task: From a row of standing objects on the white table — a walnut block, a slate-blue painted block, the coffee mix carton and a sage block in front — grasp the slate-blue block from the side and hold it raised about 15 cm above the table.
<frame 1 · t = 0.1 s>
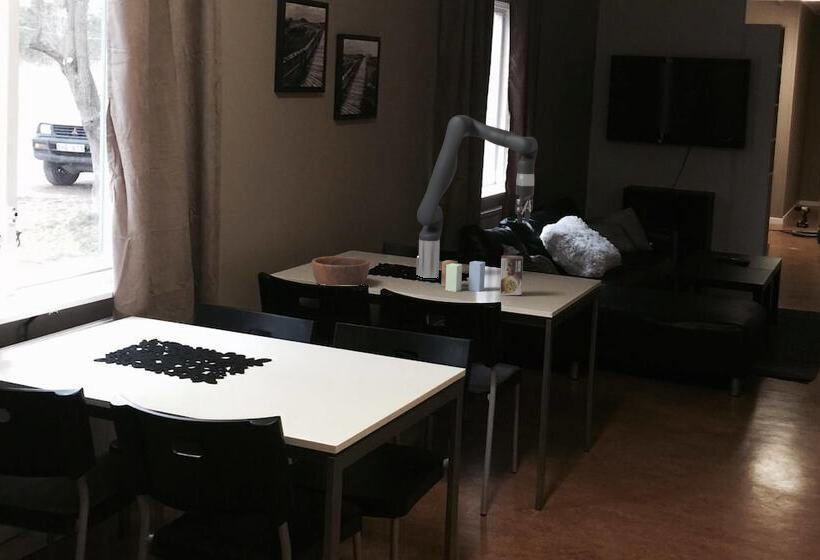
hand: (523, 222, 467), 29 cm above the table, tool pointing down, fingers open, 8 cm apart
coffee box: (510, 294, 461), on the table
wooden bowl: (340, 284, 474), on the table
sage block: (453, 290, 467), on the table
walnut block: (449, 286, 474), on the table
slate block: (476, 290, 468), on the table
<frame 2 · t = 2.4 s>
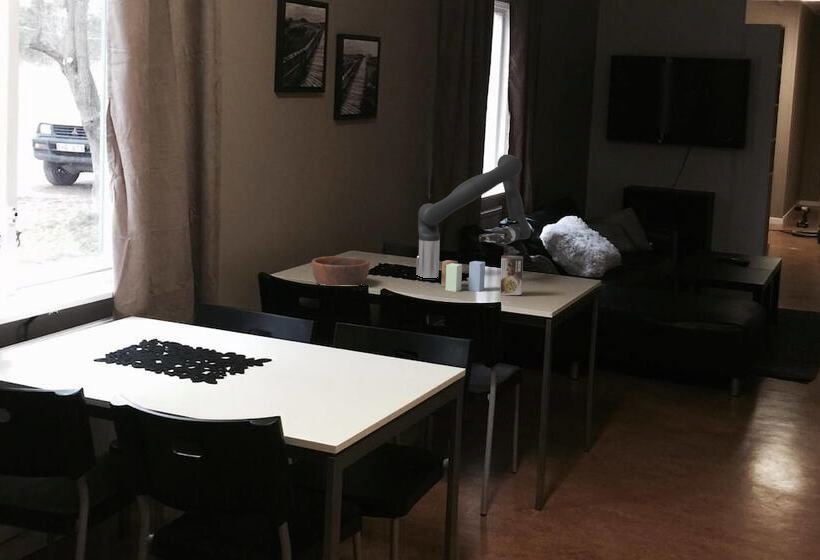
hand: (488, 240, 474), 20 cm above the table, tool horizontal, fingers open, 8 cm apart
nothing on the table moved.
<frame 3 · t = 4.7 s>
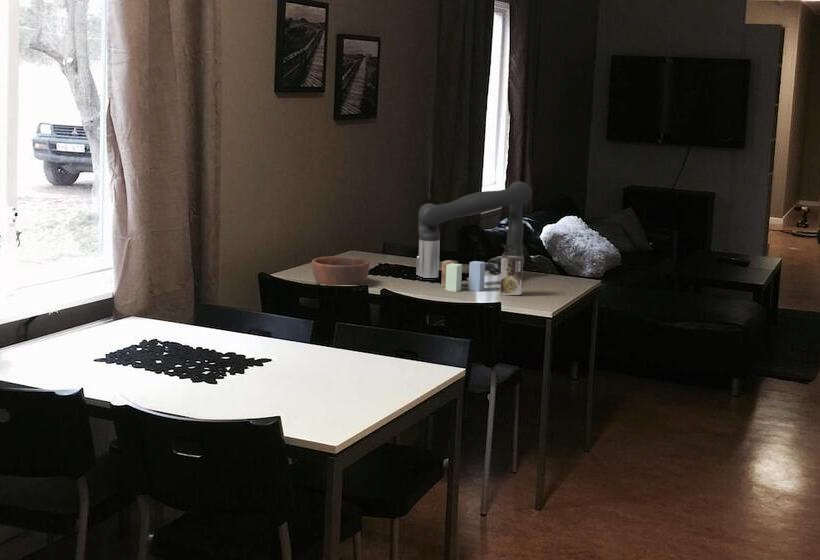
hand: (482, 270, 472), 8 cm above the table, tool horizontal, fingers open, 8 cm apart
nothing on the table moved.
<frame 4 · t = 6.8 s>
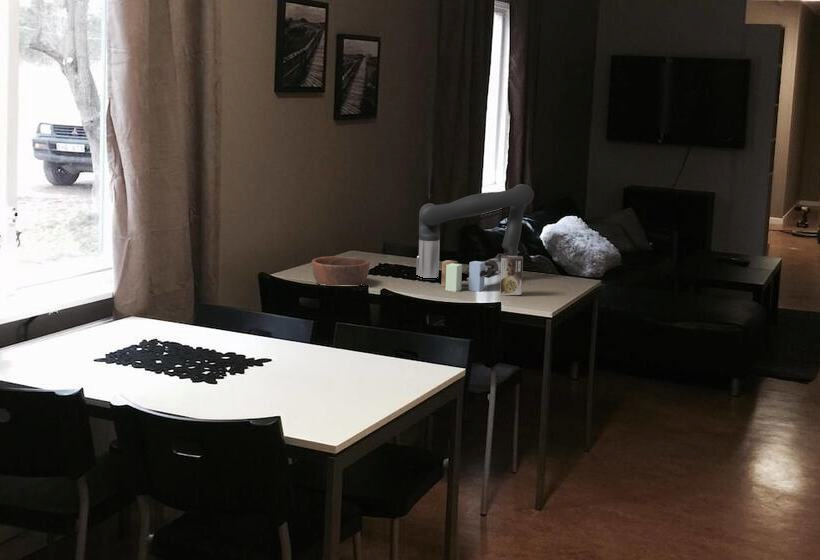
hand: (474, 273, 465), 8 cm above the table, tool horizontal, fingers closed on slate block, 5 cm apart
slate block: (476, 289, 468), on the table, touching gripper
everything else where it was.
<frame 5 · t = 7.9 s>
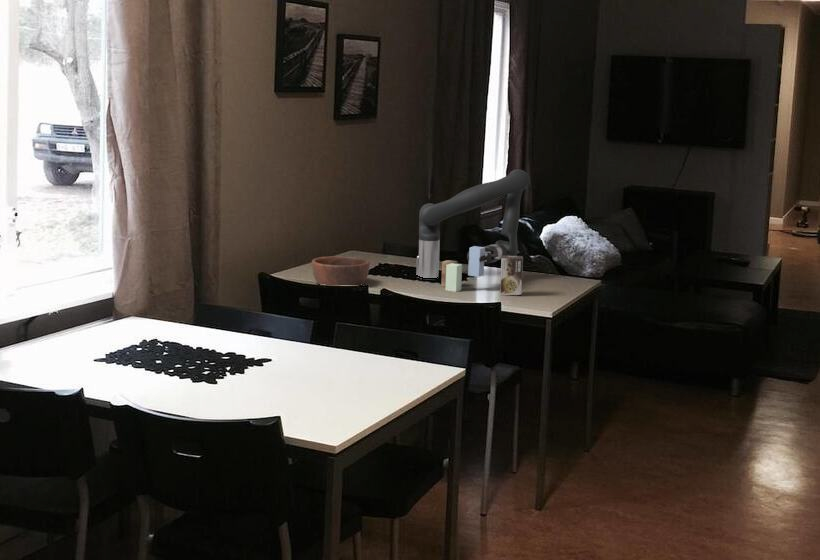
hand: (474, 258, 463), 14 cm above the table, tool horizontal, fingers closed on slate block, 5 cm apart
slate block: (475, 275, 467), point 6 cm above the table, touching gripper
everything else where it was.
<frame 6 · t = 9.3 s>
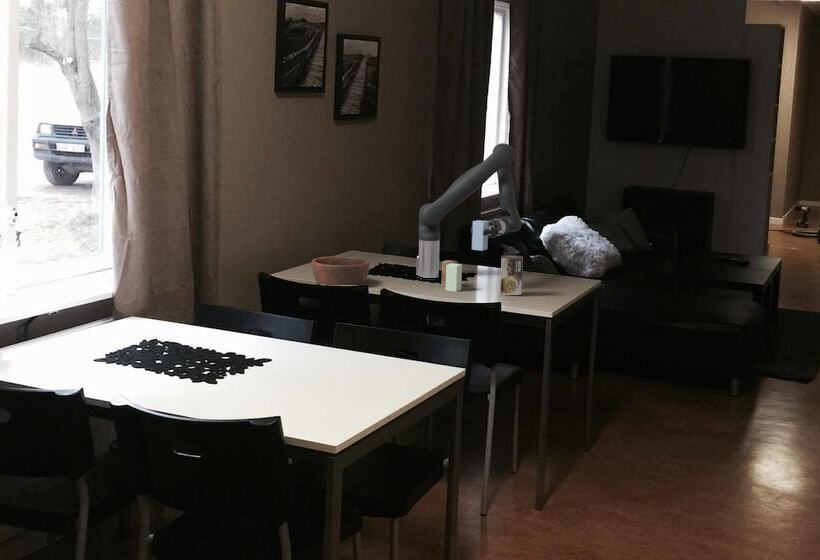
hand: (477, 232, 463), 25 cm above the table, tool horizontal, fingers closed on slate block, 5 cm apart
slate block: (479, 249, 467), point 17 cm above the table, touching gripper
everything else where it was.
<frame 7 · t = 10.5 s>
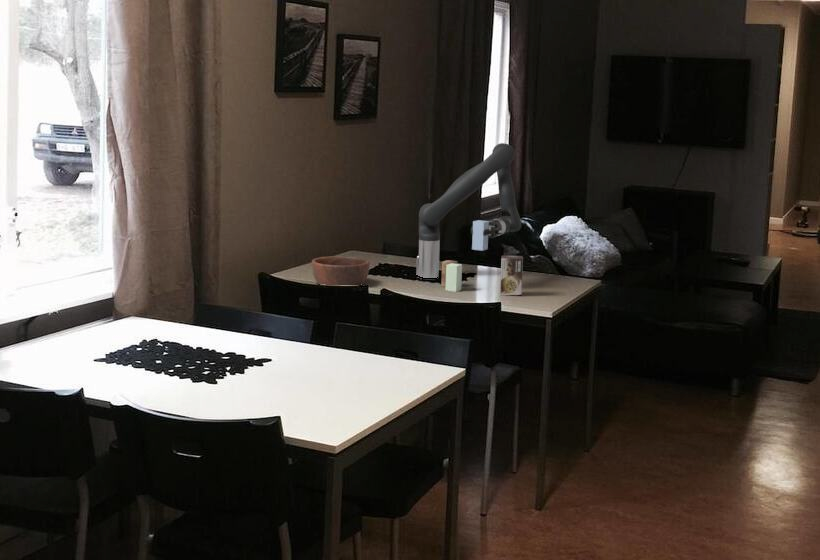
hand: (478, 232, 463), 25 cm above the table, tool horizontal, fingers closed on slate block, 5 cm apart
slate block: (479, 249, 467), point 17 cm above the table, touching gripper
everything else where it was.
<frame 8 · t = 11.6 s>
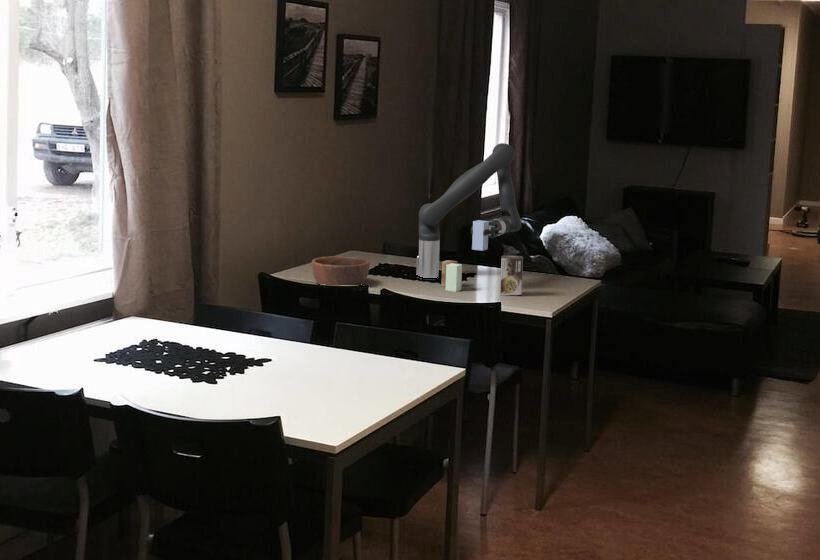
hand: (478, 232, 463), 25 cm above the table, tool horizontal, fingers closed on slate block, 5 cm apart
slate block: (479, 249, 467), point 17 cm above the table, touching gripper
everything else where it was.
at the end: the gripper is holding slate block; slate block point 17.4 cm above the table; walnut block moved 0.0 cm from its start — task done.
